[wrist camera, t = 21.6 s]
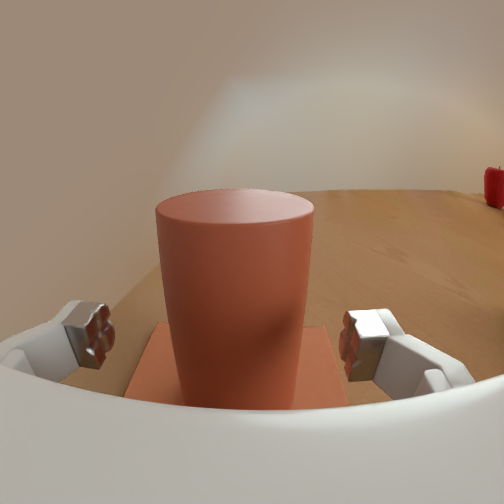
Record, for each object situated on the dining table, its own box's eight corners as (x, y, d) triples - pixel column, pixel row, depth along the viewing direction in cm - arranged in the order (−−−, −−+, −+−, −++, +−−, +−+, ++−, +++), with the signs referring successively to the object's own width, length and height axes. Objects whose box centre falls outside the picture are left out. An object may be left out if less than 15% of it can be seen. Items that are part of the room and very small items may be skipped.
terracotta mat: (98, 466, 10) (95, 462, 10) (158, 326, 21) (157, 322, 21) (364, 481, 10) (366, 477, 10) (324, 330, 21) (325, 326, 21)
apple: (507, 208, 73) (512, 169, 68) (508, 212, 67) (514, 169, 62) (481, 200, 80) (486, 161, 75) (480, 203, 74) (485, 161, 69)
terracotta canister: (172, 428, 13) (130, 224, 9) (192, 352, 18) (177, 189, 14) (298, 432, 12) (330, 226, 9) (289, 354, 18) (302, 189, 14)
